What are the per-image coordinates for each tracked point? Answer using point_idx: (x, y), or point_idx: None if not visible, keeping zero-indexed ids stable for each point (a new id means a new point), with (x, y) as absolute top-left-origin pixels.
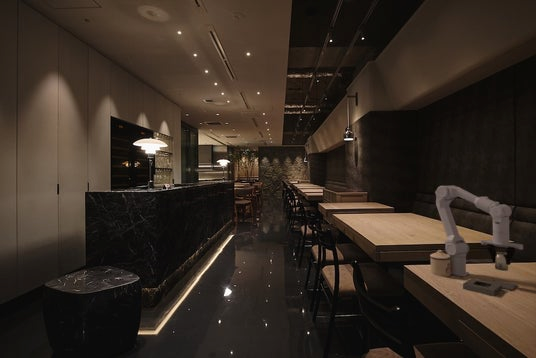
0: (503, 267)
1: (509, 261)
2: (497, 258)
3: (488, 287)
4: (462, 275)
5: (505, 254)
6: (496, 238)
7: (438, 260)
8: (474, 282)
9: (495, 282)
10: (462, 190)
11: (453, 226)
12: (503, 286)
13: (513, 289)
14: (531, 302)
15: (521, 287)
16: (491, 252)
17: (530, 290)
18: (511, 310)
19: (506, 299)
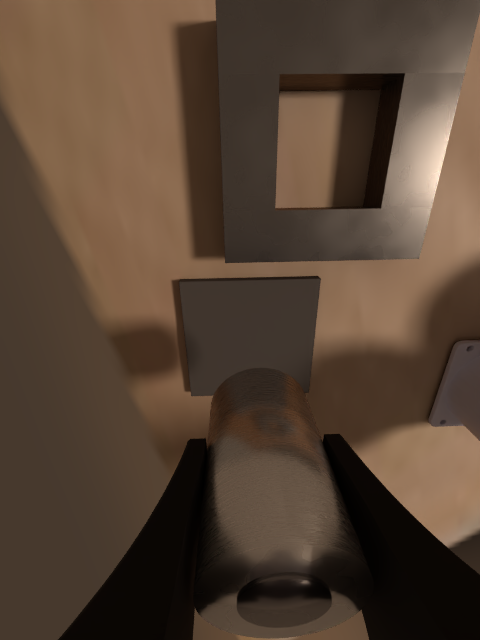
0: (233, 393)
1: (175, 471)
2: (304, 464)
3: (277, 75)
4: (465, 346)
5: (210, 572)
6: None
7: None
8: (393, 142)
9: (284, 349)
10: None
11: None
12: (231, 306)
13: (183, 312)
14: (10, 111)
15: (172, 382)
16: (422, 555)
17: (125, 366)
18: None
19: (132, 18)
